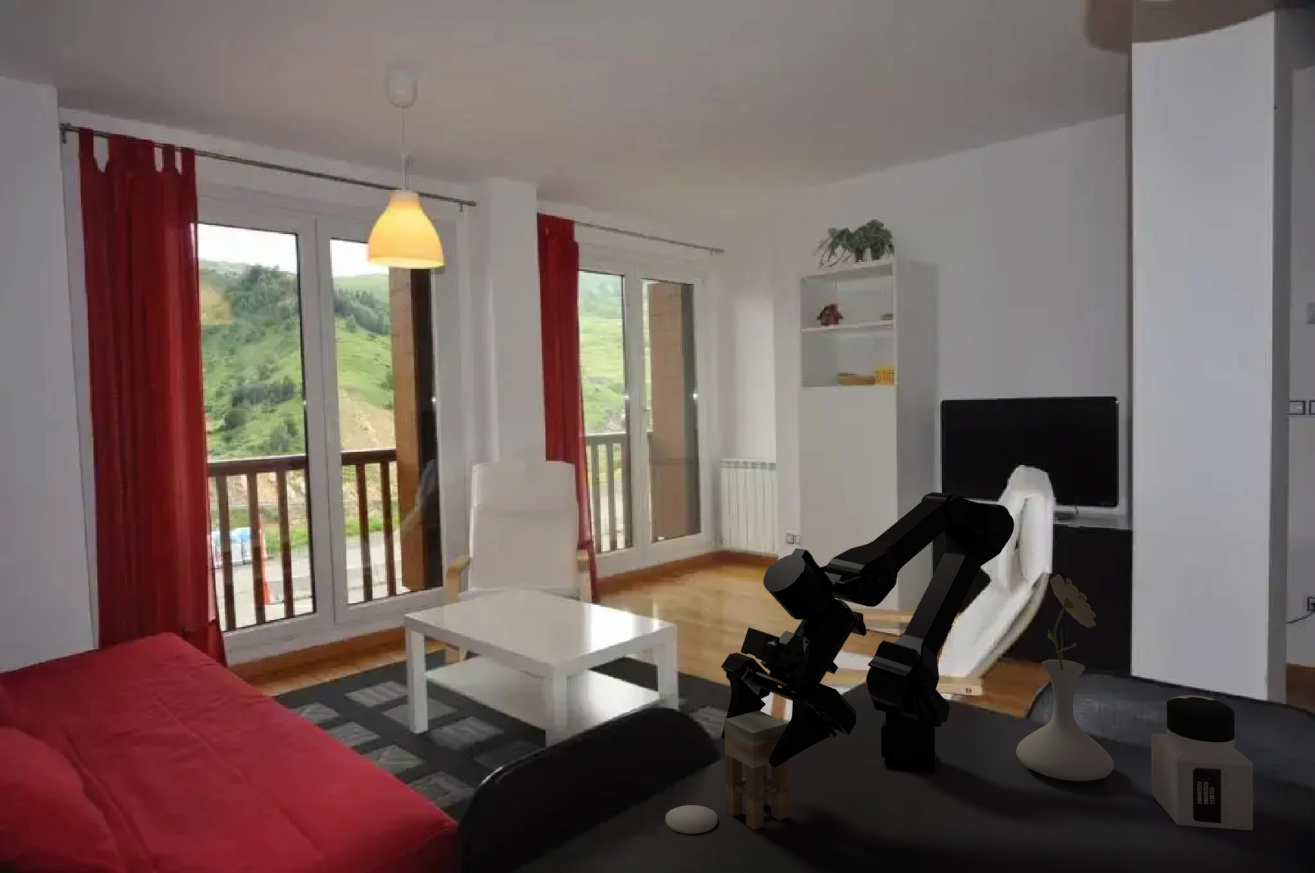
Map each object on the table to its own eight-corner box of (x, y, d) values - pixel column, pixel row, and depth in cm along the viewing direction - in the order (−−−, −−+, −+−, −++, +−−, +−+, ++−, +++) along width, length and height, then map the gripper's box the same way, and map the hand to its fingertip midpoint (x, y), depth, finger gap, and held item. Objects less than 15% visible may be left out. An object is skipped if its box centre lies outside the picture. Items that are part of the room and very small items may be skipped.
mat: (722, 812, 98) (722, 808, 98) (710, 836, 92) (710, 833, 92) (673, 805, 100) (673, 802, 100) (659, 829, 94) (659, 826, 94)
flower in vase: (1121, 796, 100) (1120, 590, 100) (1018, 783, 104) (1017, 584, 103) (1104, 754, 112) (1103, 570, 112) (1012, 744, 116) (1011, 566, 116)
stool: (760, 799, 101) (758, 710, 100) (788, 817, 96) (787, 723, 96) (725, 811, 98) (724, 719, 98) (753, 829, 94) (752, 733, 93)
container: (1254, 831, 91) (1254, 714, 91) (1176, 826, 93) (1176, 710, 92) (1221, 799, 99) (1221, 691, 98) (1150, 794, 100) (1150, 688, 100)
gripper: (732, 589, 106) (661, 690, 101) (837, 617, 91) (760, 739, 85) (779, 640, 111) (714, 740, 105) (887, 676, 95) (817, 796, 90)
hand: (747, 751), depth 96 cm, fingers open, 8 cm apart
